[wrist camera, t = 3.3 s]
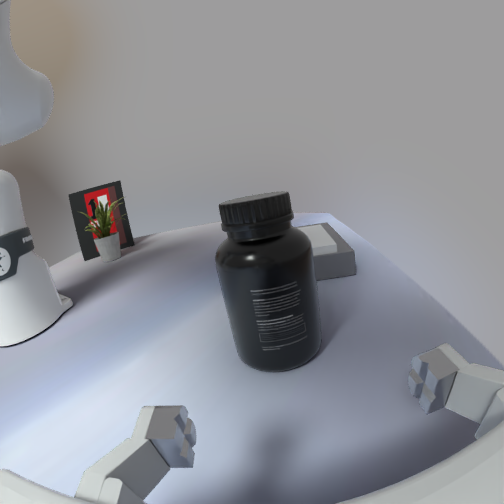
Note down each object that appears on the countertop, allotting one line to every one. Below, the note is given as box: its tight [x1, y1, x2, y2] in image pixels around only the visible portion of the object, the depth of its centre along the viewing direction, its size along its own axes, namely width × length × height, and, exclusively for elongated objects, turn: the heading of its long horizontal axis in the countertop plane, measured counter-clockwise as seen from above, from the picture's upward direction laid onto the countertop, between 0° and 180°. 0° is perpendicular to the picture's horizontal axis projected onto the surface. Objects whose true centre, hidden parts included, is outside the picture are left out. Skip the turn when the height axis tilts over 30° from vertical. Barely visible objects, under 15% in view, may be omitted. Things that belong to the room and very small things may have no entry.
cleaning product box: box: [69, 181, 134, 261], centre depth 77 cm, size 16×9×20 cm, turn 124°
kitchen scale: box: [295, 223, 356, 281], centre depth 42 cm, size 16×18×4 cm
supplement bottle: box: [215, 192, 321, 372], centre depth 20 cm, size 7×7×12 cm
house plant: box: [81, 197, 125, 262], centre depth 65 cm, size 14×14×16 cm
